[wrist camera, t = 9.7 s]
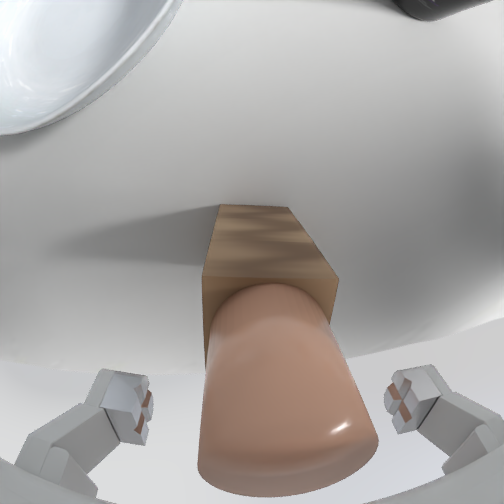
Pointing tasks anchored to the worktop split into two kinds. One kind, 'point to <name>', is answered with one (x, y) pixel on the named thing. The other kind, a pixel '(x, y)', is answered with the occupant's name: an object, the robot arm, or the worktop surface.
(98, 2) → the serving bowl
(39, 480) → the robot arm
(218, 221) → the block middle
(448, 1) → the supplement bottle
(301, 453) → the cylinder
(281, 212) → the block bottom
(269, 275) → the block top
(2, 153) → the worktop surface
